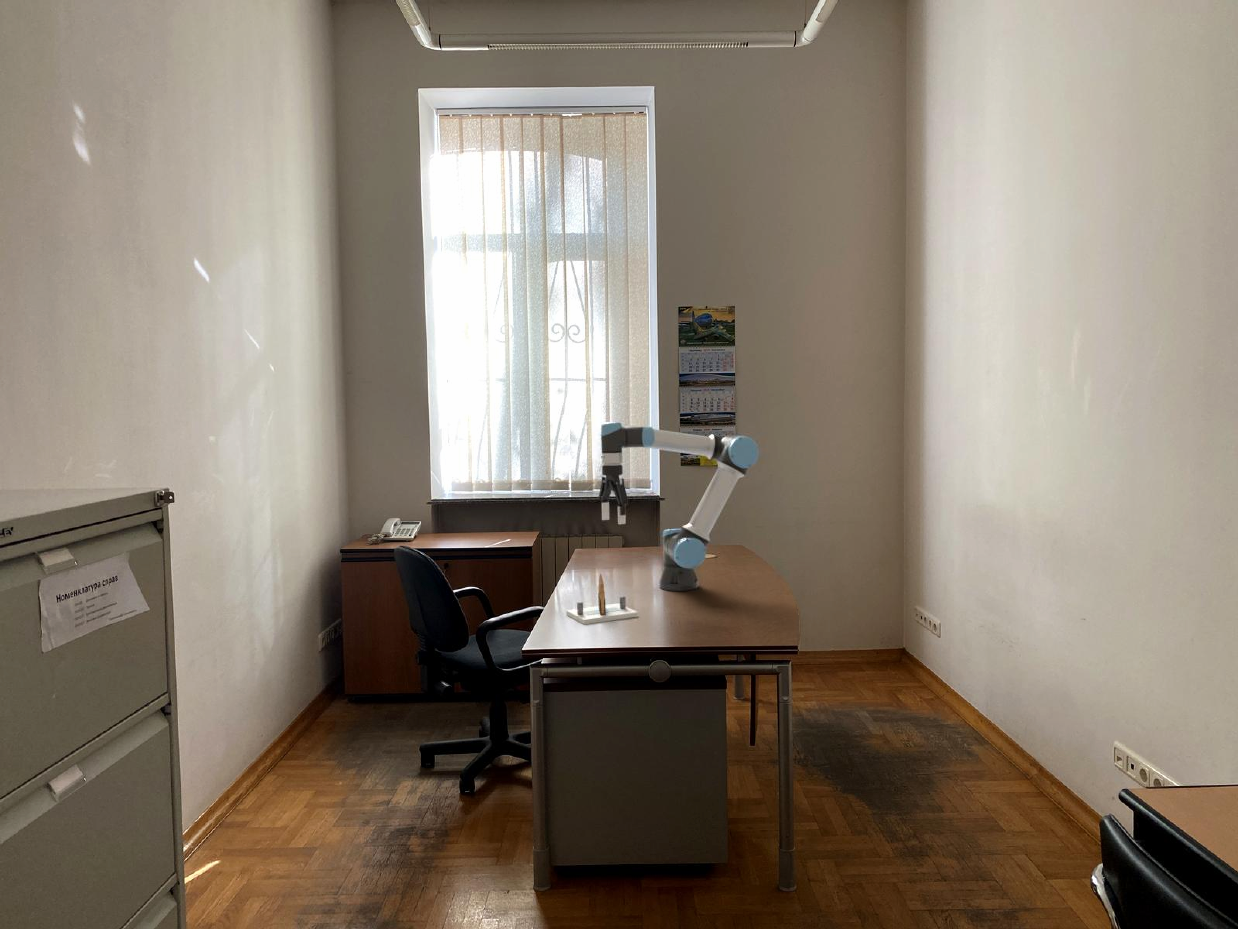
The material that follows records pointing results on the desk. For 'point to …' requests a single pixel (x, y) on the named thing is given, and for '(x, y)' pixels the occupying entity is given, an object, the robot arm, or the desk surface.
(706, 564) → the desk surface
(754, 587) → the desk surface
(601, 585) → the ammunition clip
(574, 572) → the desk surface
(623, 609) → the board
